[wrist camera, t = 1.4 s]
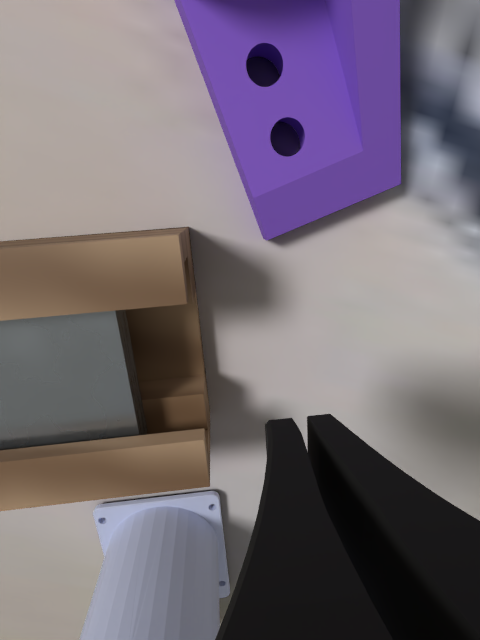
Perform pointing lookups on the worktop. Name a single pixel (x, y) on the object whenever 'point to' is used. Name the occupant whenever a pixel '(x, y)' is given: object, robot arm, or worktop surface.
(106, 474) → the sleeve box
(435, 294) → the worktop surface
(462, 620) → the robot arm
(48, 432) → the cover plate
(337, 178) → the bracket
